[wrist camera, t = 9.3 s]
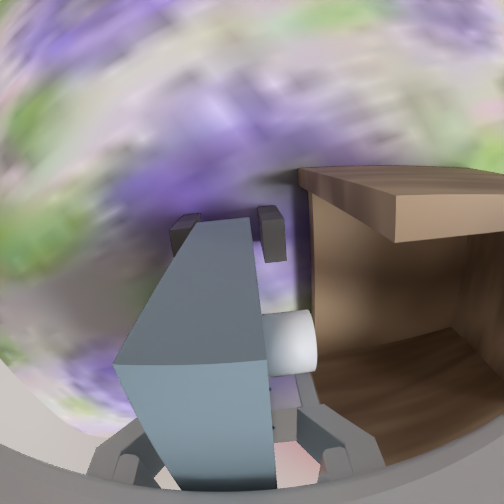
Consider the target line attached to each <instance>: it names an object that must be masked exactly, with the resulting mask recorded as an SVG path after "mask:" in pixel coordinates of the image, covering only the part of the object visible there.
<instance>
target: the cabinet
mask: <svg viewBox="0 0 504 504" xmlns="http://www.w3.org/2000/svg"><path fill="white" fill-rule="evenodd" d="M298 180H299V186H300V187H302V188H304V189H306V190H307V191H308V200H309V220H310V246H311V301H312V320H313V324H314V329H315V335H316V343H317V366H316V370H315V371H312V372H309V373H310V374H311V378H312V381H313V384H314V388H315V391H316V395H317V398H318V401H319V405H320V404H325V405H326V406H328V407H329V408H330V409H332V410H333V411H335V412H336V413H338V414H339V415H341V416H342V417H344V418H345V419H347V420H348V421H350V422H351V423H353V424H354V425H356V426H357V427H359V428H361V429H362V430H364V431H365V432H367V433H368V434H370V435H372V436H373V437H375V440H376V442H377V445H378V447H379V450H380V452H381V455H382V457H383V460H384V462H385V465H386V466H389V465H392V464H395V463H398V462H401V461H404V460H407V459H410V458H412V457H415V456H418V455H420V454H423V453H425V452H428V451H430V450H433V449H435V448H437V447H440V446H442V445H444V444H446V443H449V442H451V441H453V440H455V439H457V438H459V437H461V436H463V435H465V434H467V433H469V432H471V431H473V430H475V429H477V428H479V427H480V426H482V425H484V424H486V423H488V422H489V421H491V420H493V419H494V418H496V417H498V416H499V415H501V414H503V413H504V174H499V173H494V172H488V171H483V170H477V169H470V168H455V167H435V166H391V165H377V166H331V167H309V168H298ZM258 218H259V229H260V241H261V246H262V250H263V255H264V259H265V263H270V262H280V261H287V257H286V240H285V224H284V218H283V216H282V215H281V213H280V212H279V210H278V209H277V207H276V206H264V207H258ZM197 222H202V220H201V213H197V214H188V215H183V216H182V217H181V218H180V219H179V220H178V221H177V222H176V223H175V225H174V226H173V227H172V228H171V229H170V230H169V233H170V239H171V245H172V251H173V256H174V257H175V256H176V254H177V252H178V251H179V249H180V248H181V246H182V245H183V243H184V241H185V240H186V238H187V237H188V235H189V234H190V232H191V231H192V229H193V228H194V226H195V224H196V223H197Z"/></svg>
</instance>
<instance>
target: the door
mask: <svg viewBox="0 0 504 504" xmlns="http://www.w3.org/2000/svg"><path fill="white" fill-rule="evenodd" d="M112 365H113V367H114V370H115V372H116V374H117V377H118V379H119V381H120V383H121V385H122V388H123V390H124V392H125V394H126V396H127V398H128V400H129V402H130V404H131V406H132V408H133V410H134V412H135V414H136V416H137V418H138V420H139V422H140V423H141V425H142V427H143V429H144V431H145V433H146V434H147V436H148V438H149V440H150V441H151V443H152V445H153V447H154V448H155V450H156V452H157V453H158V455H159V457H160V458H161V460H162V461H163V463H164V465H165V466H166V468H167V469H168V471H169V472H170V474H171V475H172V477H173V478H174V480H175V481H176V483H177V484H178V486H179V487H180V488H181V490H182V491H203V492H237V491H258V490H270V489H277V480H276V467H275V454H274V441H273V429H272V416H271V404H270V392H269V380H268V377H273V376H282V375H290V374H298V373H305V372H312V371H315V370H316V366H317V343H316V335H315V329H314V324H313V320H312V316H311V314H310V312H309V310H299V311H290V312H281V313H272V314H262V315H261V308H260V299H259V291H258V283H257V275H256V267H255V258H254V250H253V242H252V234H251V226H250V218H249V217H245V218H235V219H225V220H216V221H207V222H197V223H196V224H195V226H194V228H193V229H192V231H191V232H190V234H189V235H188V237H187V238H186V240H185V241H184V243H183V245H182V246H181V248H180V249H179V251H178V252H177V254H176V256H175V257H174V259H173V260H172V262H171V264H170V265H169V267H168V268H167V270H166V272H165V273H164V275H163V277H162V278H161V280H160V281H159V283H158V285H157V286H156V288H155V290H154V291H153V293H152V295H151V296H150V298H149V300H148V302H147V303H146V305H145V307H144V308H143V310H142V312H141V314H140V315H139V317H138V319H137V320H136V322H135V324H134V326H133V328H132V329H131V331H130V333H129V335H128V336H127V338H126V340H125V342H124V344H123V345H122V347H121V349H120V351H119V353H118V355H117V356H116V358H115V360H114V362H113V364H112Z"/></svg>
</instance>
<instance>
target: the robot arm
mask: <svg viewBox="0 0 504 504" xmlns="http://www.w3.org/2000/svg"><path fill="white" fill-rule="evenodd" d="M268 380H269V392H270V404H271V416H272V429H273V441H274V443H278V442H289V441H297V442H298V443H299V444H300V445H301V446H302V447H303V448H304V449H305V450H306V451H307V452H308V453H309V454H310V455H311V456H312V457H313V458H314V459H315V460H316V461H317V462H318V463H319V464H320V465H321V466H320V471H319V477H318V482H317V483H316V484H310V485H304V486H297V487H289V488H282V489H281V488H280V489H270V490H258V491H237V492H203V491H182V490H170V489H161V488H160V486H159V485H158V484H157V482H156V481H155V480H154V477H155V475H157V473H158V472H159V471H160V470H161V469H162V468H163V467H164V466H165V465H164V463H163V461H162V460H161V458H160V457H159V455H158V453H157V452H156V450H155V448H154V447H153V445H152V443H151V441H150V440H149V438H148V436H147V434H146V433H145V431H144V429H143V427H142V425H141V423H140V422H139V420H138V418H135V419H134V420H133V421H132V422H130V423H129V424H128V425H126V426H125V427H124V428H122V429H121V430H120V431H118V432H117V433H116V434H114V435H113V436H112V437H110V438H109V439H108V440H106V441H105V442H104V443H102V444H101V445H100V446H99V447H97V448H96V450H95V453H94V455H93V458H92V460H91V463H90V466H89V468H88V471H87V473H86V475H85V474H81V473H77V472H74V471H70V470H67V469H64V468H60V467H57V466H54V465H51V464H48V463H46V462H43V461H40V460H37V459H35V458H32V457H30V456H27V455H25V454H22V453H20V452H18V451H15V450H13V449H11V448H8V447H6V446H4V445H2V444H0V504H504V413H503V414H501V415H499V416H498V417H496V418H494V419H493V420H491V421H489V422H488V423H486V424H484V425H482V426H480V427H479V428H477V429H475V430H473V431H471V432H469V433H467V434H465V435H463V436H461V437H459V438H457V439H455V440H453V441H451V442H449V443H446V444H444V445H442V446H440V447H437V448H435V449H433V450H430V451H428V452H425V453H423V454H420V455H418V456H415V457H412V458H410V459H407V460H404V461H401V462H398V463H395V464H392V465H389V466H386V465H385V462H384V460H383V457H382V455H381V452H380V450H379V447H378V445H377V442H376V440H375V437H373V436H372V435H370V434H368V433H367V432H365V431H364V430H362V429H361V428H359V427H357V426H356V425H354V424H353V423H351V422H350V421H348V420H347V419H345V418H344V417H342V416H341V415H339V414H338V413H336V412H335V411H333V410H332V409H330V408H329V407H328V406H326V405H325V404H320V405H319V401H318V398H317V395H316V391H315V388H314V384H313V381H312V378H311V374H310V373H309V372H305V373H298V374H290V375H282V376H273V377H268Z"/></svg>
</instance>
